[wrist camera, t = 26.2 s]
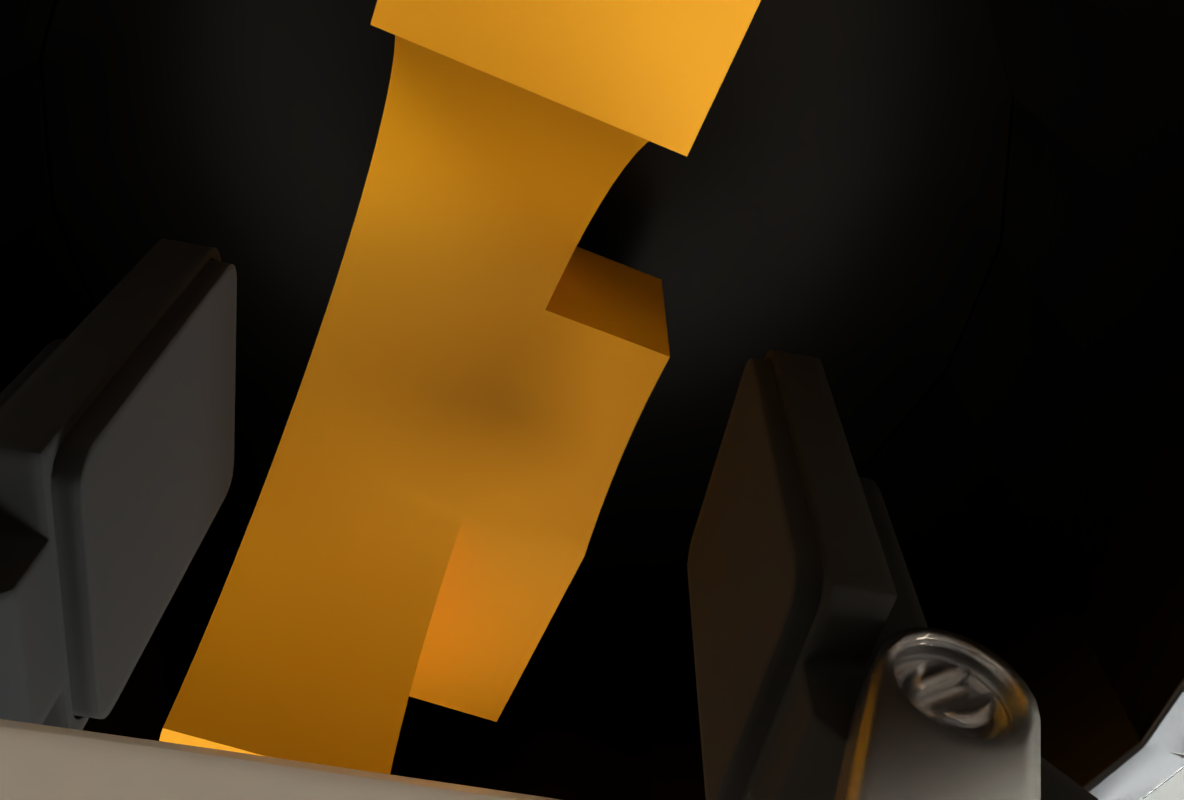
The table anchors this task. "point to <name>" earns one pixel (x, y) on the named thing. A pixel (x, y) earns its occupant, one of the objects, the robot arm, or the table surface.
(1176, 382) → the pot
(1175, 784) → the table surface
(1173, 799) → the table surface
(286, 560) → the orange stepped block
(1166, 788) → the table surface
